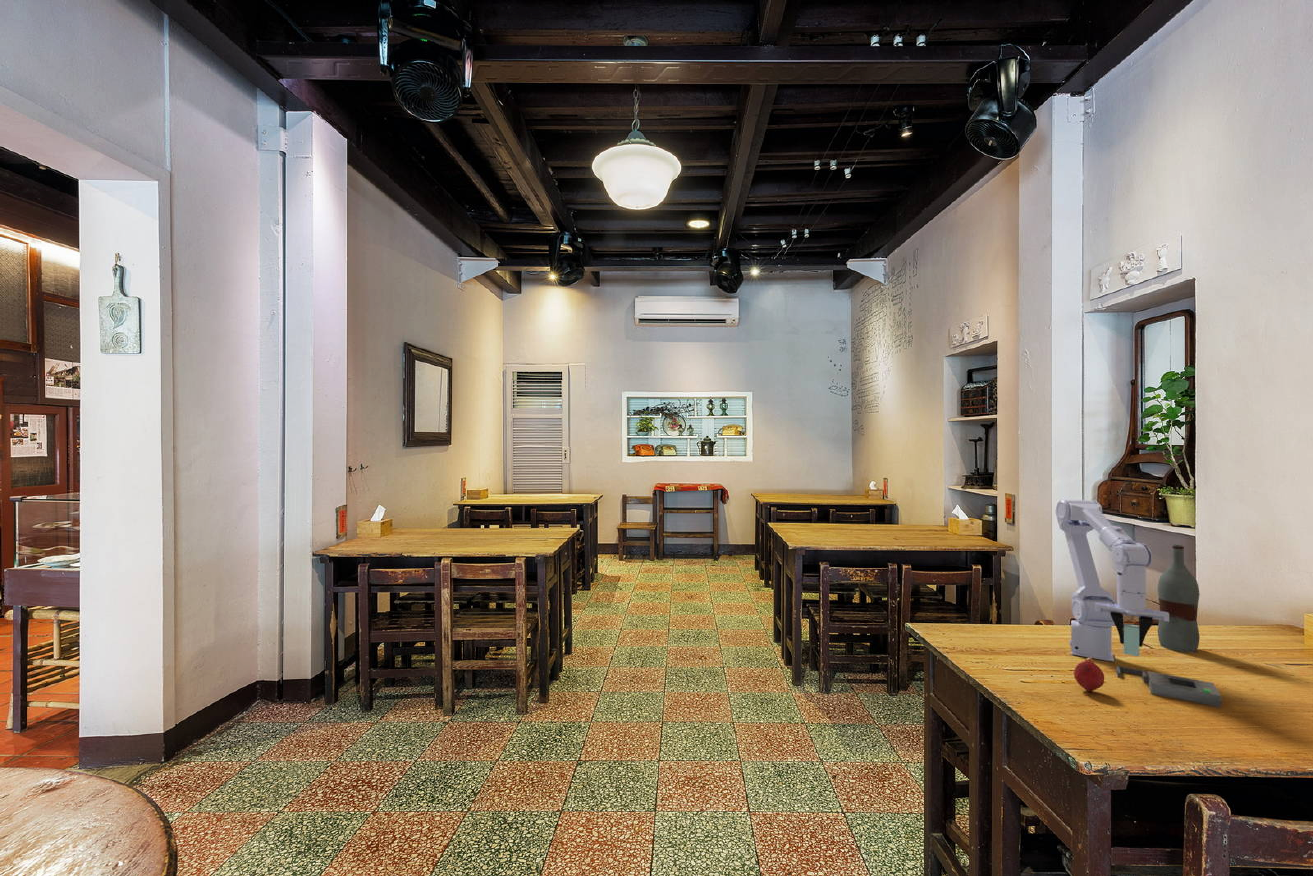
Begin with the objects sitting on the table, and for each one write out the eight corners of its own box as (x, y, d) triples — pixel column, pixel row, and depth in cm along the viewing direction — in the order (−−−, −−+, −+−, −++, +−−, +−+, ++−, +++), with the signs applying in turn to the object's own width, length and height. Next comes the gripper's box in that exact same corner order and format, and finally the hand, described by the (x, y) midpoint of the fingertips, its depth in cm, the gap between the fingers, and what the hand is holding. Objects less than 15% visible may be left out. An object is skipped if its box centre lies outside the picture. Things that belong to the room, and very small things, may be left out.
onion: (1096, 698, 135) (1096, 664, 135) (1068, 689, 140) (1068, 655, 140) (1109, 694, 138) (1109, 660, 138) (1082, 685, 143) (1082, 652, 143)
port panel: (1151, 693, 138) (1151, 680, 138) (1147, 681, 145) (1147, 669, 145) (1221, 707, 131) (1220, 693, 131) (1213, 694, 138) (1213, 680, 138)
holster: (1117, 677, 148) (1117, 672, 148) (1116, 670, 153) (1116, 665, 153) (1146, 682, 145) (1146, 677, 145) (1144, 675, 149) (1144, 670, 149)
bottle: (1183, 654, 165) (1183, 548, 166) (1149, 643, 174) (1149, 543, 175) (1208, 652, 167) (1208, 547, 168) (1173, 641, 176) (1173, 542, 177)
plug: (1123, 653, 148) (1124, 626, 148) (1123, 650, 151) (1123, 623, 151) (1139, 656, 147) (1139, 628, 147) (1138, 653, 149) (1138, 625, 149)
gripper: (1096, 589, 150) (1095, 642, 150) (1170, 598, 142) (1170, 655, 141) (1095, 584, 156) (1095, 635, 156) (1167, 593, 147) (1166, 646, 147)
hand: (1131, 644), depth 149 cm, fingers closed on plug, 3 cm apart
